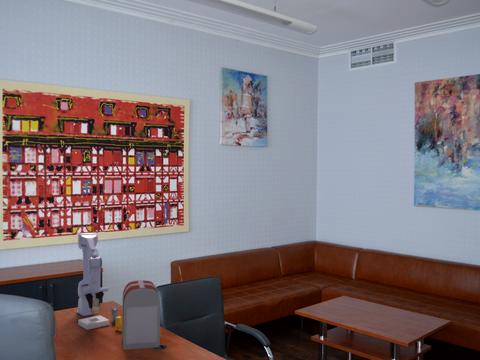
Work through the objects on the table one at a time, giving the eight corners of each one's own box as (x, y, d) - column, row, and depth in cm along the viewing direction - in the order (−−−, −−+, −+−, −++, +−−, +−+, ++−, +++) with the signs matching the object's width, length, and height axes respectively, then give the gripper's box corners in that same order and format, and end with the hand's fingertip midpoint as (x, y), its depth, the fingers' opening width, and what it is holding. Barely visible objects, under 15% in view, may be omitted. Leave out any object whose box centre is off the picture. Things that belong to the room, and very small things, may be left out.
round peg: (110, 322, 247) (110, 308, 247) (115, 320, 250) (116, 307, 249) (113, 323, 245) (113, 310, 245) (118, 322, 247) (119, 309, 247)
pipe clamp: (140, 331, 234) (140, 318, 234) (135, 334, 231) (135, 321, 230) (121, 327, 240) (121, 315, 239) (115, 330, 236) (115, 317, 235)
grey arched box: (122, 349, 210) (123, 289, 210) (121, 336, 227) (122, 280, 227) (160, 347, 215) (161, 287, 214) (156, 333, 232) (157, 278, 231)
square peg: (90, 312, 242) (90, 298, 242) (95, 311, 244) (96, 297, 244) (92, 313, 240) (93, 300, 240) (98, 312, 242) (99, 299, 242)
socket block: (78, 324, 242) (78, 319, 242) (100, 320, 250) (100, 315, 250) (86, 329, 235) (87, 324, 235) (109, 324, 243) (109, 320, 243)
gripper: (84, 284, 234) (83, 311, 235) (111, 280, 244) (110, 306, 244) (78, 281, 239) (77, 308, 240) (104, 277, 249) (104, 303, 250)
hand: (94, 307), depth 242 cm, fingers closed on square peg, 3 cm apart
